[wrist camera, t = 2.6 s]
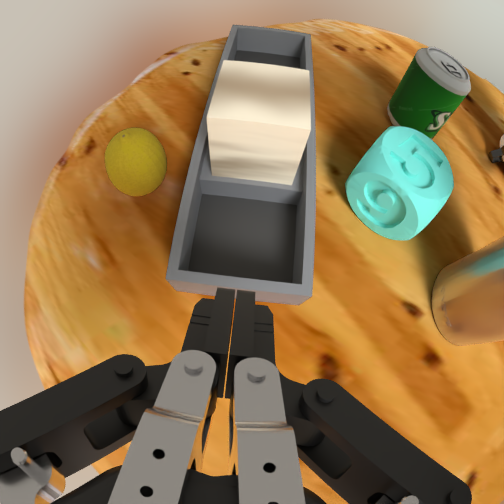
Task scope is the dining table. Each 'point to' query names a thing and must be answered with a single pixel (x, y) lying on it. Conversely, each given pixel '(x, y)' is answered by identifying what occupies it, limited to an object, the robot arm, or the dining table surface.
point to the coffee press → (498, 153)
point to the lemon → (135, 161)
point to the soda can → (429, 92)
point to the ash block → (259, 121)
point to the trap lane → (249, 202)
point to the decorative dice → (400, 183)
